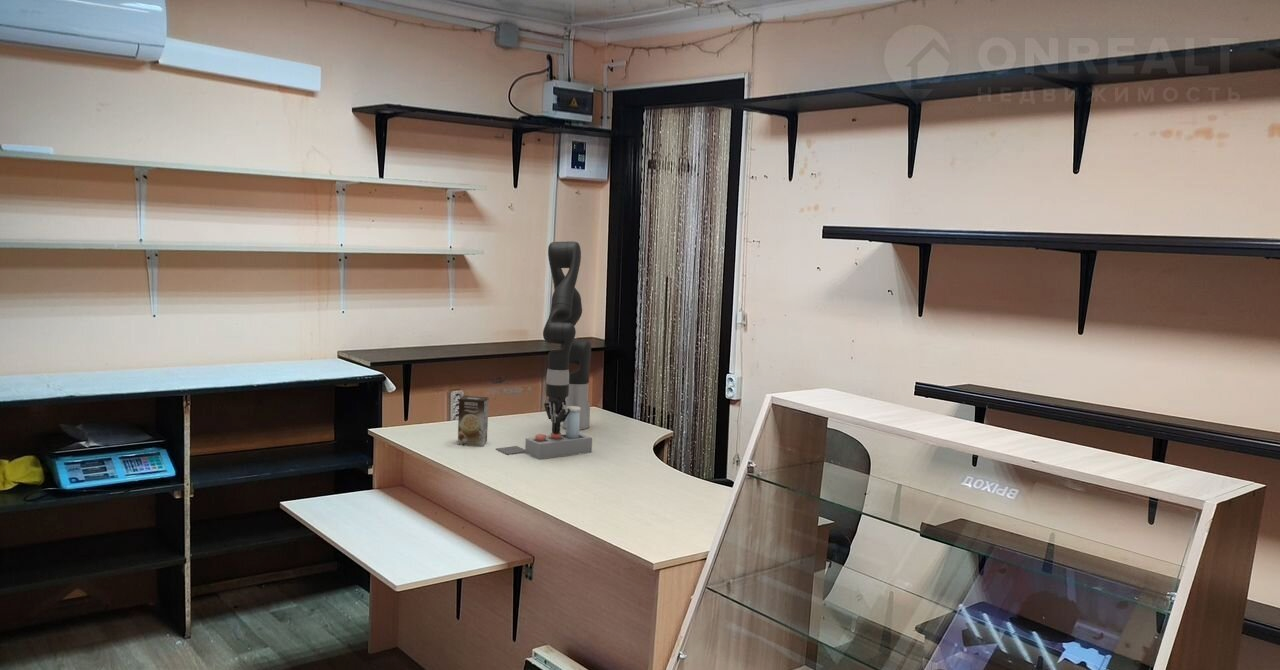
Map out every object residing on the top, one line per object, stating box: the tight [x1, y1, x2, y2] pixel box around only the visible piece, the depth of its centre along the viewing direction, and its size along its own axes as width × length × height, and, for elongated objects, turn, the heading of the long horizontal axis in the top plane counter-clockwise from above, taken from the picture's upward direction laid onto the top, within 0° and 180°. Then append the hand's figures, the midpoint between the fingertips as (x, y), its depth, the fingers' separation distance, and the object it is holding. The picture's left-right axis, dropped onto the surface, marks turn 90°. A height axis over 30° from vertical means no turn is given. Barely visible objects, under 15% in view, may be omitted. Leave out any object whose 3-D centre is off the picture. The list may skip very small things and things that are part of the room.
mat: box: [495, 445, 526, 456], centre depth 310 cm, size 8×8×1 cm
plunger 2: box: [550, 432, 562, 440], centre depth 309 cm, size 3×3×6 cm
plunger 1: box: [534, 433, 547, 442], centre depth 305 cm, size 3×3×6 cm
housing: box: [524, 432, 593, 460], centre depth 310 cm, size 20×9×5 cm, turn 127°
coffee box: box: [457, 395, 489, 447], centre depth 316 cm, size 9×6×16 cm
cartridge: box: [565, 406, 581, 439], centre depth 313 cm, size 5×5×15 cm
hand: (555, 433), depth 309 cm, fingers closed
